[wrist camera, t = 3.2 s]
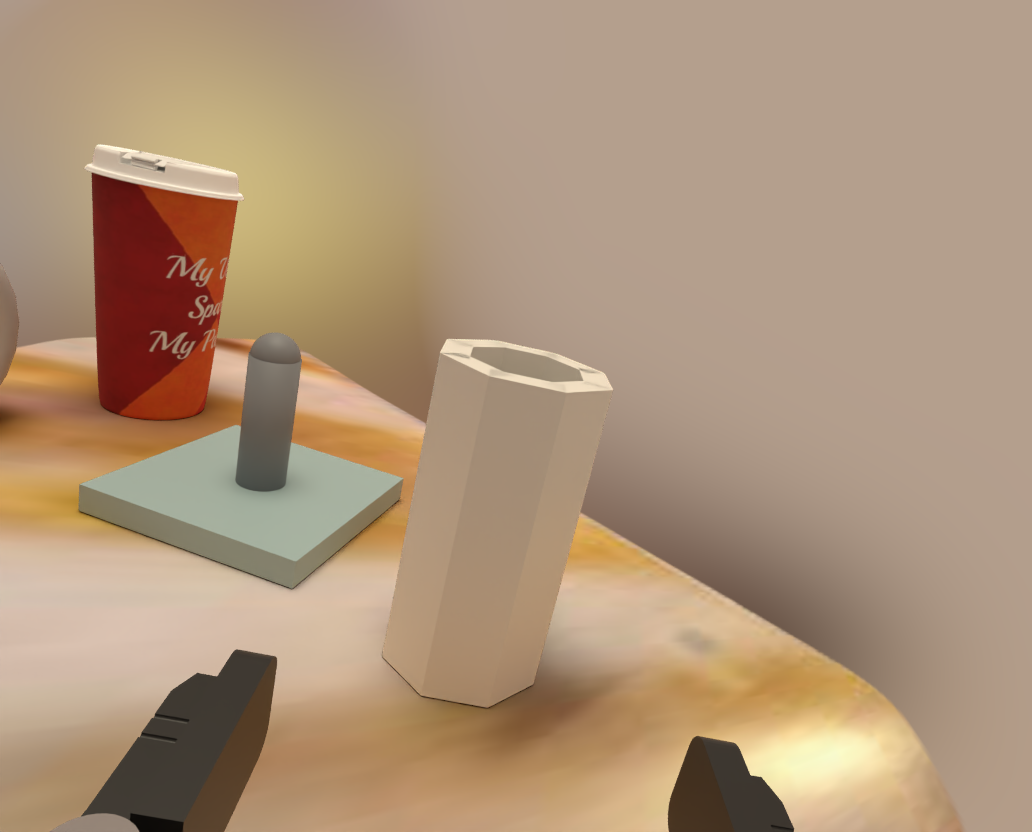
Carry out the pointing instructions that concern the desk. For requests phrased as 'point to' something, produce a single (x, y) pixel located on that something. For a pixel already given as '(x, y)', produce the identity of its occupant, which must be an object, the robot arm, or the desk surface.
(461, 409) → the white octagonal tube
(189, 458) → the peg stand
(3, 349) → the donut
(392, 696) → the desk surface
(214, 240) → the paper cup
